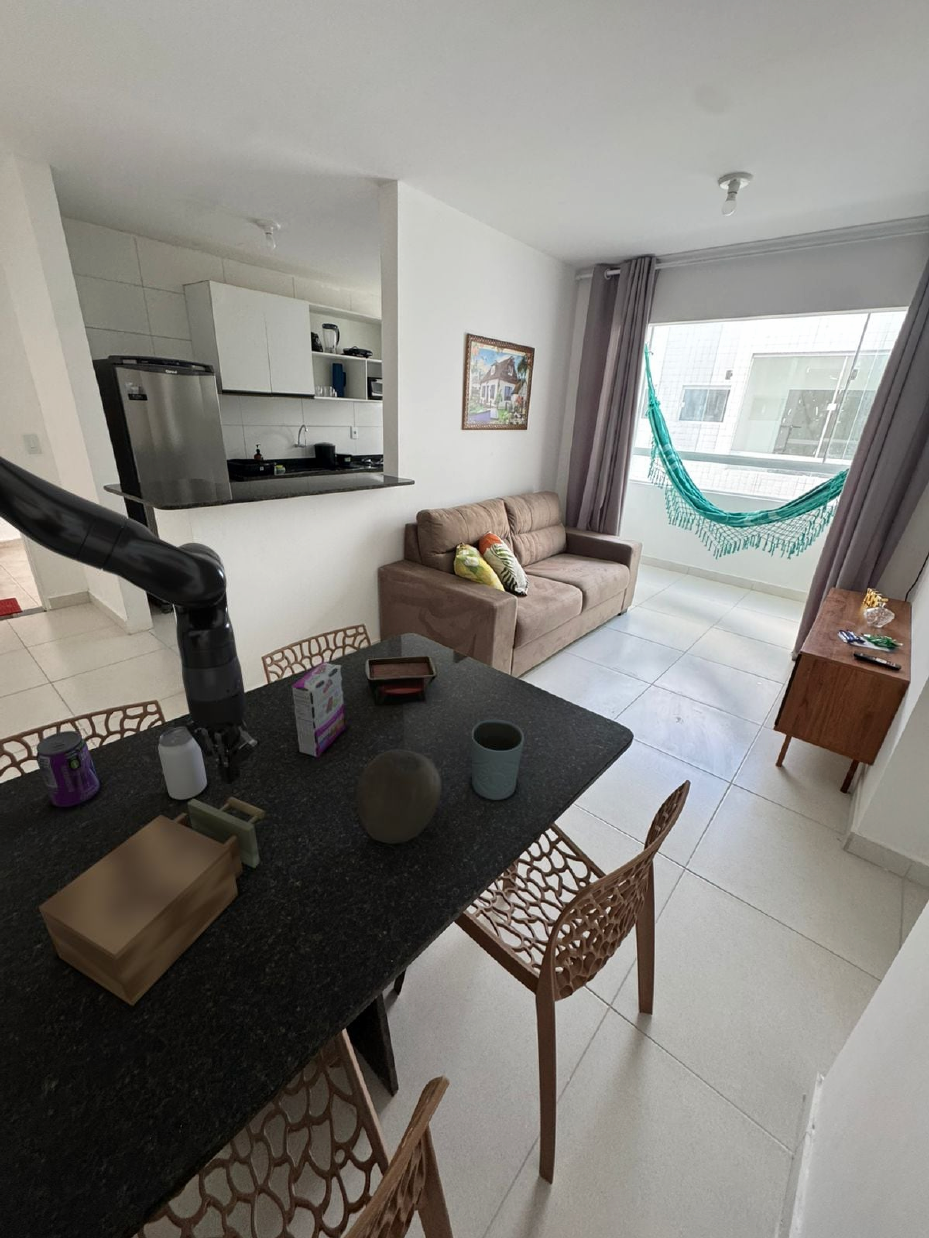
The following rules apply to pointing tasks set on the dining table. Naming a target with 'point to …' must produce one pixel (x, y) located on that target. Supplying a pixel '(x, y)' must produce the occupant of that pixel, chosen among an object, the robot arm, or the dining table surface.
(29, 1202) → the dining table surface
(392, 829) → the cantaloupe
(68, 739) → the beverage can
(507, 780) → the teal cup
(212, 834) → the drawer
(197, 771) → the can
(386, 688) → the baking dish
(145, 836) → the cabinet
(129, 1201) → the dining table surface
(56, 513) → the robot arm
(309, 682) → the candy bar box
